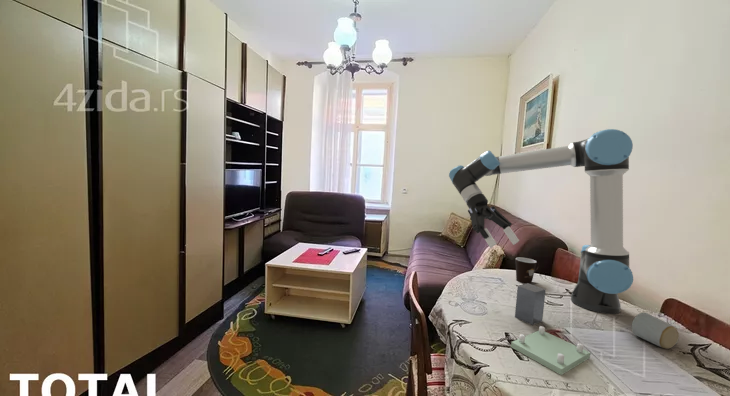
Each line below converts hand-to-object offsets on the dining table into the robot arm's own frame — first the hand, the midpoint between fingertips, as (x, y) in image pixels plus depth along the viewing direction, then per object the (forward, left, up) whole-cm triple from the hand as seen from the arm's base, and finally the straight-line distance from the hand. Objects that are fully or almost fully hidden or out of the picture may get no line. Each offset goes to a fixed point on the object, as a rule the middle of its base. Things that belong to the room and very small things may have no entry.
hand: (505, 244), depth 108 cm
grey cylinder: (-22, +37, -24) cm, 49 cm away
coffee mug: (-37, -11, -23) cm, 45 cm away
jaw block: (0, +11, -23) cm, 26 cm away
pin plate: (+14, +25, -23) cm, 37 cm away
